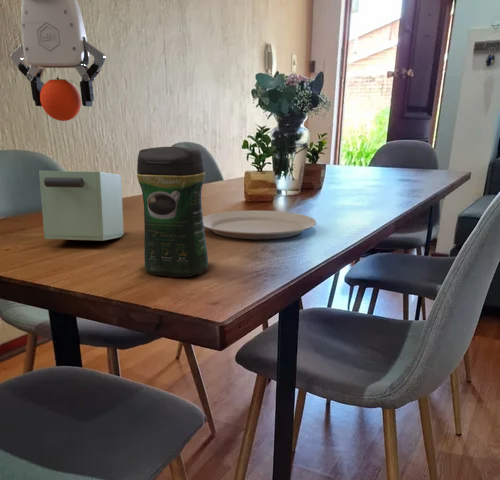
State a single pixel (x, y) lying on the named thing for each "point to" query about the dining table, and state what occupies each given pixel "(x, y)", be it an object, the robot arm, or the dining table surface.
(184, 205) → the coffee jar
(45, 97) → the clementine
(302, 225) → the plate
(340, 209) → the dining table surface
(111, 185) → the pale sage cube
